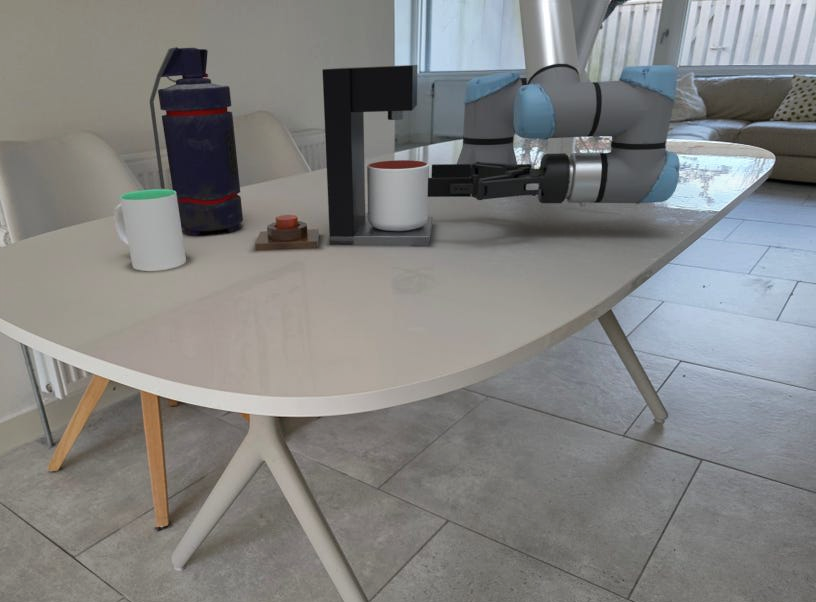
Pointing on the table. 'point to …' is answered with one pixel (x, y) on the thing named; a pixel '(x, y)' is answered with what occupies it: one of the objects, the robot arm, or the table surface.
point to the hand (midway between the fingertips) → (429, 179)
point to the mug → (151, 229)
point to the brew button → (286, 221)
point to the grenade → (198, 143)
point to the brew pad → (287, 238)
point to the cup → (397, 194)
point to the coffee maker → (362, 147)
